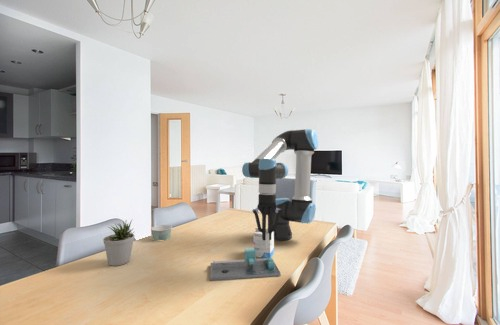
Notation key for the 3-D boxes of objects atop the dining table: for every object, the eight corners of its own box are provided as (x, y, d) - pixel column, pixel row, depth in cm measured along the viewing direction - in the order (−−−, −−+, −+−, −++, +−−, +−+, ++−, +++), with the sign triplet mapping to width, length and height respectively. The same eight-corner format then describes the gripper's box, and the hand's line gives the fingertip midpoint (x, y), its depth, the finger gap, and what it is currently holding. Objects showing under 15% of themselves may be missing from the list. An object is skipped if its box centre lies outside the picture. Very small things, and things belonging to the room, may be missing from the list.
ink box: (274, 252, 125) (274, 226, 125) (270, 258, 118) (270, 230, 117) (258, 250, 128) (258, 224, 128) (253, 256, 120) (253, 229, 120)
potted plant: (102, 271, 104) (101, 224, 104) (104, 259, 116) (103, 217, 116) (135, 265, 110) (135, 220, 109) (133, 255, 122) (133, 214, 122)
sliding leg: (253, 261, 110) (253, 248, 110) (256, 269, 103) (256, 255, 103) (244, 262, 110) (244, 248, 110) (247, 269, 102) (247, 255, 102)
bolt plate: (272, 261, 114) (272, 252, 114) (280, 275, 100) (280, 265, 100) (210, 265, 110) (210, 256, 110) (210, 280, 96) (210, 270, 96)
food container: (155, 243, 139) (155, 231, 139) (147, 238, 148) (147, 227, 148) (175, 238, 147) (175, 227, 147) (167, 234, 156) (167, 223, 156)
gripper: (279, 192, 114) (278, 244, 114) (251, 192, 112) (250, 245, 112) (283, 194, 106) (283, 249, 106) (253, 194, 104) (253, 251, 104)
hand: (266, 247), depth 109 cm, fingers closed
